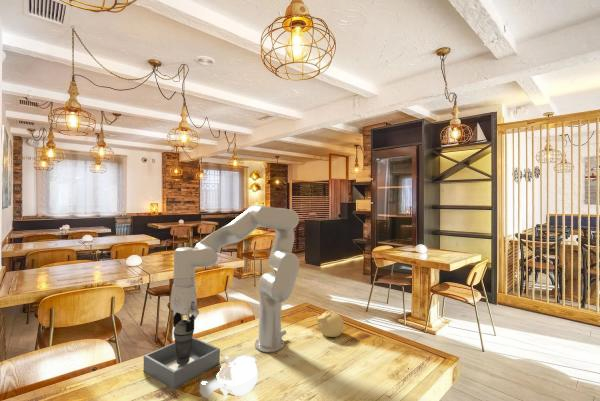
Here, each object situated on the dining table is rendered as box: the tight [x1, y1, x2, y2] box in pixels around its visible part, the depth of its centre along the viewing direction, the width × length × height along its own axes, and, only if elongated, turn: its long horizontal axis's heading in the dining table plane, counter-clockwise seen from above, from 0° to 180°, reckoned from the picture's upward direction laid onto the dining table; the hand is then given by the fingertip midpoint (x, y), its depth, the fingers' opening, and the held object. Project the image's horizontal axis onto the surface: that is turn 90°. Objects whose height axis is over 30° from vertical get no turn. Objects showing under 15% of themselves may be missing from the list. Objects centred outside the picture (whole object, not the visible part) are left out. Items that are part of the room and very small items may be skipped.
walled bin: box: [143, 336, 221, 391], centre depth 119 cm, size 20×18×6 cm
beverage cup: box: [173, 314, 195, 365], centre depth 119 cm, size 7×7×20 cm
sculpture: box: [316, 310, 345, 338], centre depth 151 cm, size 12×12×11 cm
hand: (183, 328), depth 119 cm, fingers closed on beverage cup, 6 cm apart
